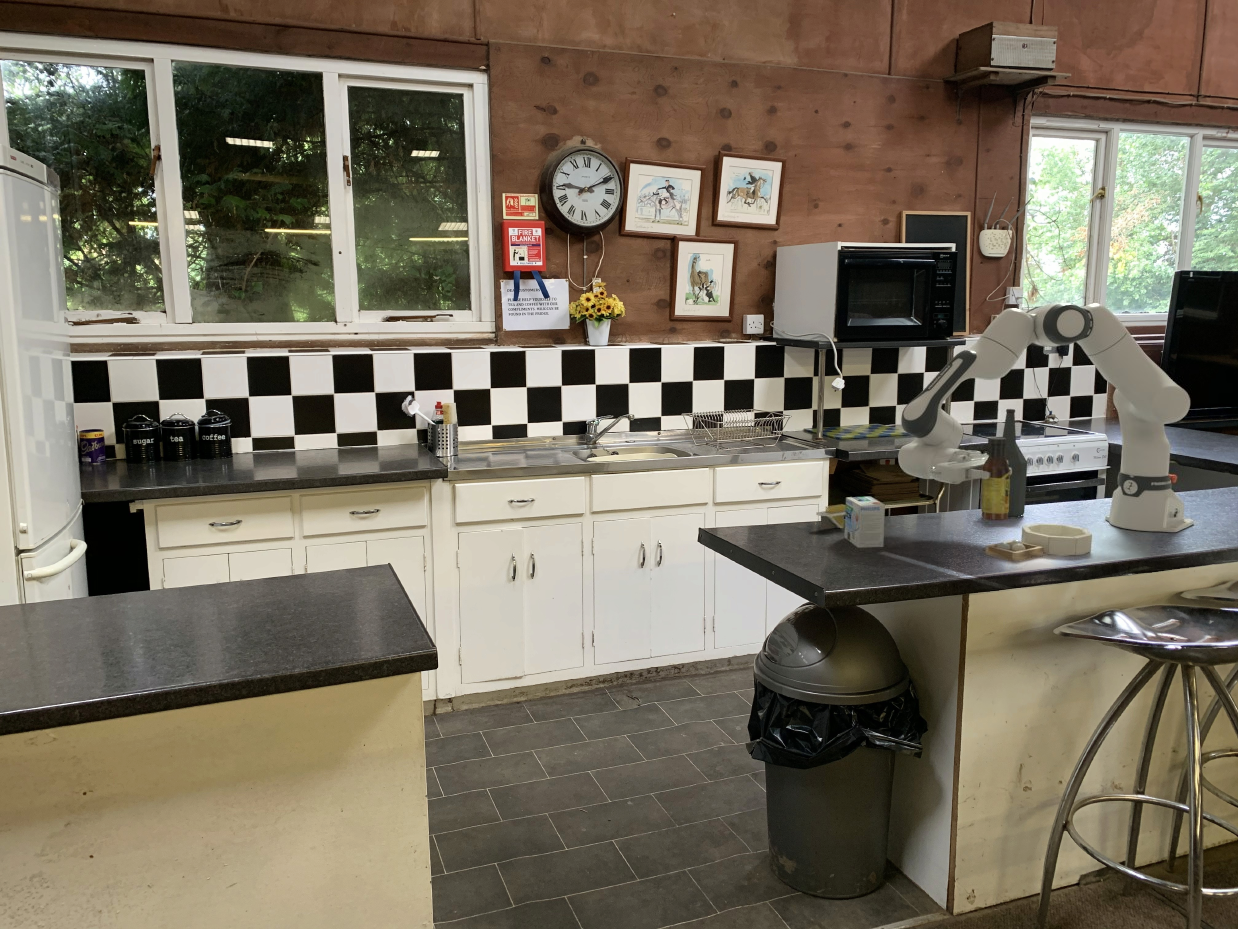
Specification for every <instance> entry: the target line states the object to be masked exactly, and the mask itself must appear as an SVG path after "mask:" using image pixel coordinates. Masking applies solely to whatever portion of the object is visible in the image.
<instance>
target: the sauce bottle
mask: <svg viewBox="0 0 1238 929" xmlns="http://www.w3.org/2000/svg"><path fill="white" fill-rule="evenodd" d="M1005 445H1006V438H1002V437H1000V436H999V437H998V436H997V437H996V436H995V437H994V436H993V437H988V440H987V446H988V454H987V455H989V457H988V459H987V460H986V461H985V463H984V465H983V471H985V470H986V471H990V472H991V478H989V479H982V478H981V507H980V508H981V509H980V510H981V518H982V519H985V520H986V521H999V522H1000V521H1005V520H1007V519H1009V518H1008V512H1009V489H1010V469H1009V466H1008V463H1007V460H1006V457H1005Z"/></svg>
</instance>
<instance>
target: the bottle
mask: <svg viewBox="0 0 1238 929" xmlns="http://www.w3.org/2000/svg"><path fill="white" fill-rule="evenodd" d="M1005 412H1006V415H1005V419H1004V420H1005V421H1004V425H1003V430H1002V431H1003V432H1002V437H1001V438H1006V445H1005V457H1006V460H1008V466H1009V468H1011V469H1012V474H1011V475H1010V489H1009V512H1008V518H1007V519H1009V518H1010V519H1012V518H1011V517H1016V518H1019V517H1018V516H1020V517H1022V516H1021V515H1024V514H1025V508H1026V493H1027V491H1026V490H1027V489H1026V488H1027V475H1028V461H1027V459H1026V457H1025V456H1024V454H1023V453H1022V452H1023V451H1021V449H1020V447H1019V446H1018V443H1017V438H1016V436H1017V435H1016V419H1015V418H1016V415H1015V413H1016V410H1015V409H1013V408H1007V409H1006V410H1005Z"/></svg>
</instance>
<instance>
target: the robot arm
mask: <svg viewBox="0 0 1238 929" xmlns="http://www.w3.org/2000/svg"><path fill="white" fill-rule="evenodd" d="M1075 343H1077V344H1078V345H1079V346H1080V347H1081V349H1082V350H1083V352H1084V353H1085V354H1086V356H1087V357H1088V359H1090V361H1091V362H1092V364H1093V366H1095V368H1096V370H1097V371H1098V372H1099V373H1100V375H1101V376H1102V377H1103V379H1104V380H1106V381H1107V382H1108V383H1109V384H1111V385H1112V386H1113V387H1114V388H1115V390H1114V393H1113V394H1112V401H1113V405H1114V406H1115V408H1116V412H1117V414H1118V420H1119V426H1120V433H1121V434H1120V435H1121V461H1120V462H1121V464H1120V471H1119V472H1118V476H1117V485H1118V487H1117V488H1116V489H1114V491H1113V493H1112V498H1111V505H1110V509H1109V511H1110V512H1109V514H1108V515H1105V519H1104V520H1106V521H1108V522H1109V524H1110V525H1112V526H1115V527H1117V528H1122V529H1125V530H1126V529H1128V530H1132V531H1133V530H1134V531H1140V532H1141V531H1143V532H1164V533H1177V532H1180V531H1182V530H1184V529H1187V528H1188V527H1191V526H1193V525H1194V523H1195V521H1194V520H1193V519H1191V518H1188V517H1185V503H1184V501H1183V500H1182V499H1181V498H1180V497H1179V496H1178V495H1177V493H1176V492H1174V490H1172V483H1176V482H1177V479H1178V476H1177V475H1176V474H1170V473H1169V470H1170V458H1171V444H1170V441H1169V439H1168V437H1167V435H1166V431H1165V425H1166V424H1173V423H1177V422H1178V421H1181V420H1182V419H1183V418H1184V417H1186V416H1187V414H1188V412H1189V410H1190V407H1191V398H1190V395H1189V394H1188V392H1187V391H1186V390H1185V389H1184V388H1182V387H1181V386H1180V385H1178V384H1177V383H1176V382H1175V381H1173V379H1171V377H1169V375H1168V374H1167V373H1166V372H1165V371H1164V370H1163V369H1162V368H1160V366H1159V365H1157V364H1156V363H1155V361H1153V360H1152V359H1151V358H1150V357H1149V356H1148V355H1147V354H1146V353H1145V352H1144V350H1143V349H1142V347H1141V346H1140V345H1139V344H1138V343H1137V341H1136V339H1135V338H1134V337H1133V336H1132V334H1131V333H1130V332H1129V331H1128V329H1127V328H1126V326H1125V325H1124V323H1123V322H1121V320H1120V319H1119V318H1118V317H1117V316H1116V315H1115V314H1114V313H1113V312H1112V311H1111V310H1110V309H1108V308H1107V307H1106V305H1103V304H1102V303H1098V302H1097V303H1096V302H1093V303H1090V304H1086V305H1084V306H1080V305H1079V306H1078V304H1077V305H1076V304H1073V303H1070V302H1054V303H1052V302H1051V303H1047V304H1045V305H1040V306H1039V305H1038V306H1036V307H1033V308H1030V309H1029V310H1027V311H1024V310H1022V309H1019V308H1013V307H1012V308H1006V309H1005V310H1002V311H1001V312H1000V313H999V314H998V315H997V317H995V318H994V319H993V320H992V322H990V324H989V325H988V326H987V327H986V329H985V330H984V331H983V333H982V334H981V335H980V337H979V338H978V339H977V341H976V342H975V343H974V344H973V345H972V346H971V347H970V348H969V349H966V350H965V349H964V350H961V351H960V352H958V353H957V354H956V355H955V356H953V357H952V358H951V359H950V360H949V361H948V362H947V364H945V366H943V368H942V369H941V370H940V371H939V372H938V374H936V375H935V377H934V378H933V379H932V380H931V381H930V382H929V383H928V384H927V386H925V388H924V389H923V390H922V391H921V392H920V393H919V394H918V395H917V396H915V397H914V398H913V399H912V400H910V401H909V402H908V403H907V404H906V405H905V406H904V408H903V410H902V413H901V419H900V420H901V421H900V424H901V427H902V429H903V430H904V431H905V433H907V434H909V435H911V437H912V436H913V437H914V439H913V440H912V441H911V442H909V443H906V444H905V445H903V446H901V448H899V451H898V455H897V456H898V457H897V458H898V465H899V466H900V468H901V470H902V471H903V472H904V473H905V474H907V475H909V476H913V477H917V478H921V479H925V480H933V479H934V480H935V481H938V482H942V483H947V484H954V485H958V484H961V483H962V482H964V481H965V482H966V481H971V480H972V481H973V480H976V479H981V480H982V479H989V478H991V472H990V471H986V470H985V471H983V465H984V463H985V461H986V460H987V459H988V457H989V455H988V454H985V453H982V452H981V451H980V450H979V451H978V450H965V449H959V448H960V445H961V444H962V442H963V438H964V427H963V425H962V424H961V423H960V422H959V421H958V420H956V419H955V417H953V416H952V415H950V414H948V413H947V412H946V411H944V410H943V409H942V406H943V404H944V402H945V401H946V400H947V399H948V397H949V396H951V394H953V392H954V391H955V390H956V389H957V387H959V385H960V384H961V383H962V382H964V381H965V380H968V379H979V380H983V381H993V380H994V381H995V380H999V379H1001V378H1003V377H1005V376H1007V374H1008V373H1009V372H1010V371H1011V370H1012V369H1013V368H1014V366H1015V364H1016V363H1017V361H1018V360H1019V359H1020V357H1021V355H1022V354H1023V352H1024V350H1025V349H1027V348H1028V346H1030V345H1032V346H1036V347H1045V348H1054V347H1059V346H1068V345H1071V344H1072V345H1073V344H1075ZM1007 463H1008V460H1007ZM1009 469H1010V475H1011V474H1012V469H1011V468H1009Z"/></svg>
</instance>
